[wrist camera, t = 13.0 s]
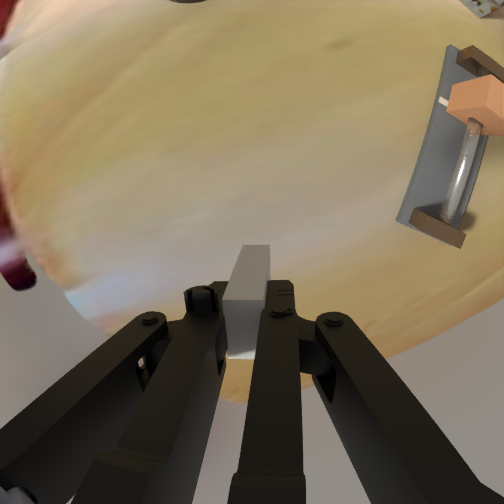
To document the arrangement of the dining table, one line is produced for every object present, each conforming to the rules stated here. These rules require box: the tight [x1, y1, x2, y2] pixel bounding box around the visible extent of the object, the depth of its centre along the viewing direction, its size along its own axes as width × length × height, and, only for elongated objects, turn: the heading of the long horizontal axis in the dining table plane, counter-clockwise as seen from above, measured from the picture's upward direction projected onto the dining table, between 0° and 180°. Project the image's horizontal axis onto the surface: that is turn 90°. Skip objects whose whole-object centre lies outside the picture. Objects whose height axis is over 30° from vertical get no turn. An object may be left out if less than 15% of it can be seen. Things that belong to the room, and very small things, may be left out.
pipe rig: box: [408, 45, 504, 249], centre depth 36 cm, size 31×8×5 cm, turn 163°
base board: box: [396, 45, 488, 246], centre depth 39 cm, size 32×11×2 cm, turn 163°
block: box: [446, 74, 504, 136], centre depth 30 cm, size 5×8×11 cm, turn 73°
